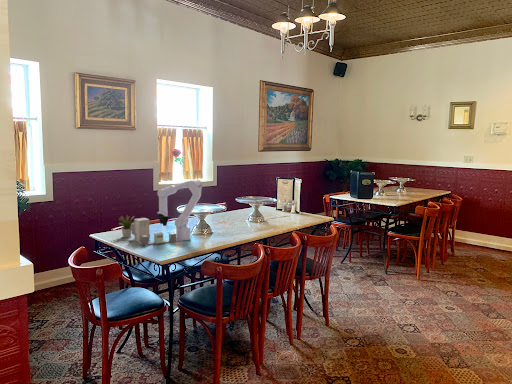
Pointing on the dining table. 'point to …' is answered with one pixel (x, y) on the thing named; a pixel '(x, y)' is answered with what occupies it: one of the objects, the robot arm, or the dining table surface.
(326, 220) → the dining table surface
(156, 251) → the dining table surface
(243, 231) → the dining table surface
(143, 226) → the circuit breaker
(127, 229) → the house plant
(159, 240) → the block
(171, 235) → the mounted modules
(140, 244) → the steel rail
